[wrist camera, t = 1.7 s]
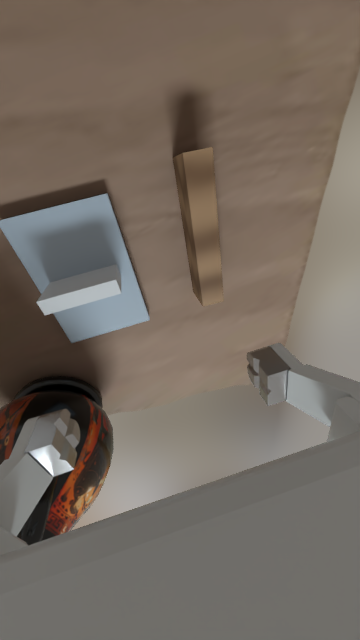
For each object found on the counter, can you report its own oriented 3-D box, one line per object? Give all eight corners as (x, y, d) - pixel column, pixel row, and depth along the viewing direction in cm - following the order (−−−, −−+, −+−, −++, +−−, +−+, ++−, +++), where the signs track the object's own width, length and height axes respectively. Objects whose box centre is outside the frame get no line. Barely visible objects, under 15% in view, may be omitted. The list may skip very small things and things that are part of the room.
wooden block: (172, 157, 30) (182, 152, 25) (197, 152, 30) (212, 147, 25) (193, 291, 41) (203, 306, 36) (211, 286, 41) (223, 301, 36)
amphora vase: (96, 438, 56) (78, 623, 32) (-9, 428, 47) (-138, 674, 23) (130, 376, 48) (138, 561, 24) (11, 350, 39) (-154, 602, 16)
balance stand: (1, 219, 29) (-34, 230, 23) (107, 192, 30) (103, 195, 24) (73, 338, 40) (63, 369, 34) (149, 315, 41) (154, 341, 35)
